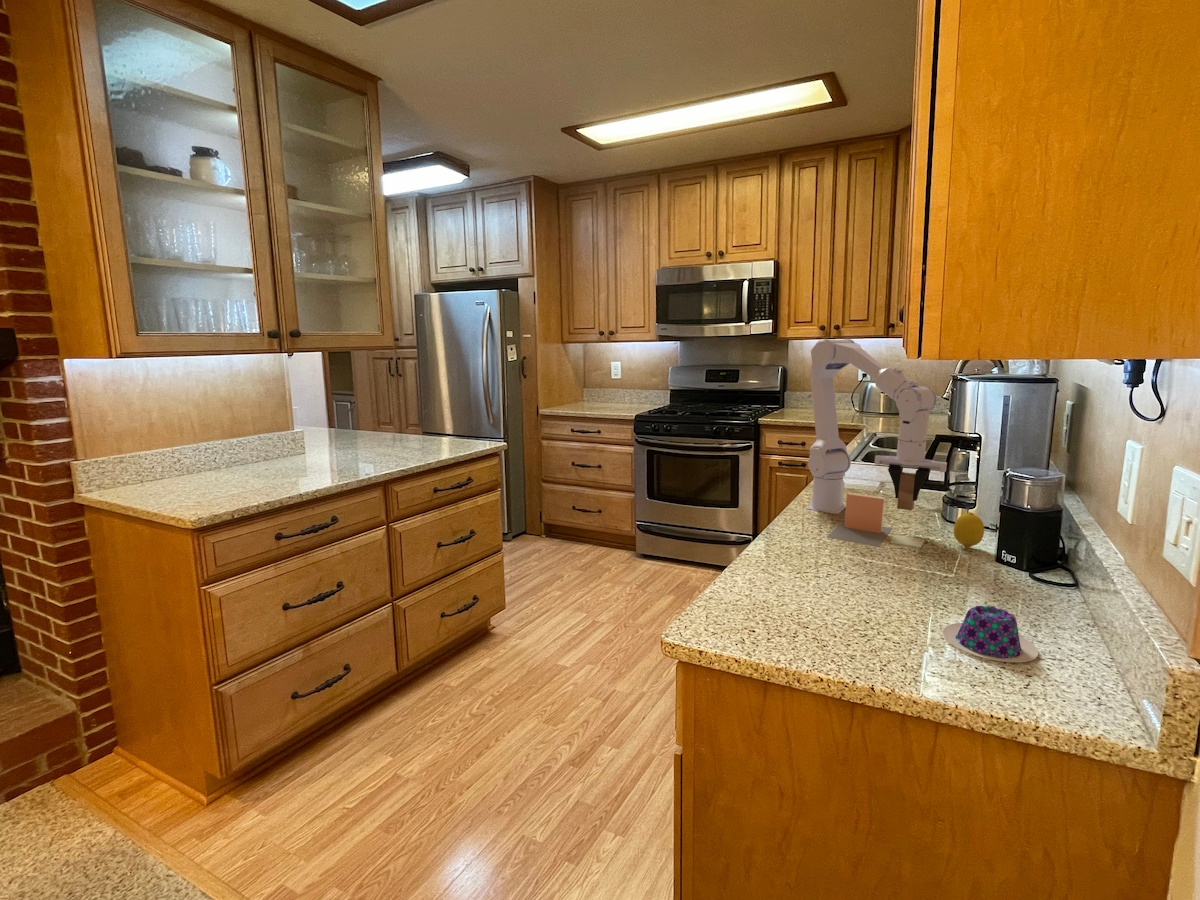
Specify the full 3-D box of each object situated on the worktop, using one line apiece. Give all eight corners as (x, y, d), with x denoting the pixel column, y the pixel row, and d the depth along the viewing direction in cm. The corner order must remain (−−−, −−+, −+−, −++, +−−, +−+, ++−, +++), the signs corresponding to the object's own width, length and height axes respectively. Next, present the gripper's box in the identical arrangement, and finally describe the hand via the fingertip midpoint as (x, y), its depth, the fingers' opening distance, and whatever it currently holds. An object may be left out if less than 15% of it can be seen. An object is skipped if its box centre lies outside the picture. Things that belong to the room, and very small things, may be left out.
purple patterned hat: (925, 627, 96) (928, 596, 95) (999, 626, 97) (1003, 595, 96) (975, 668, 85) (979, 632, 84) (1059, 666, 85) (1064, 631, 84)
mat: (843, 521, 151) (843, 520, 151) (892, 529, 145) (892, 528, 145) (826, 538, 138) (826, 537, 138) (878, 548, 132) (879, 546, 132)
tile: (845, 525, 147) (848, 492, 145) (882, 531, 142) (885, 497, 141) (844, 527, 145) (846, 494, 144) (880, 533, 141) (883, 499, 140)
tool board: (894, 537, 139) (894, 534, 139) (924, 542, 136) (924, 539, 136) (889, 544, 134) (890, 542, 134) (920, 549, 131) (920, 547, 131)
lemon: (973, 544, 135) (977, 509, 133) (986, 553, 129) (991, 516, 128) (947, 543, 135) (951, 508, 134) (959, 552, 130) (963, 515, 128)
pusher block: (899, 505, 144) (902, 472, 142) (913, 507, 142) (917, 473, 141) (897, 508, 141) (900, 474, 140) (911, 510, 140) (915, 476, 138)
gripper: (874, 439, 140) (868, 497, 142) (946, 446, 132) (940, 507, 134) (880, 435, 145) (875, 491, 148) (950, 441, 137) (943, 500, 140)
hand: (906, 498), depth 141 cm, fingers closed on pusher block, 3 cm apart
